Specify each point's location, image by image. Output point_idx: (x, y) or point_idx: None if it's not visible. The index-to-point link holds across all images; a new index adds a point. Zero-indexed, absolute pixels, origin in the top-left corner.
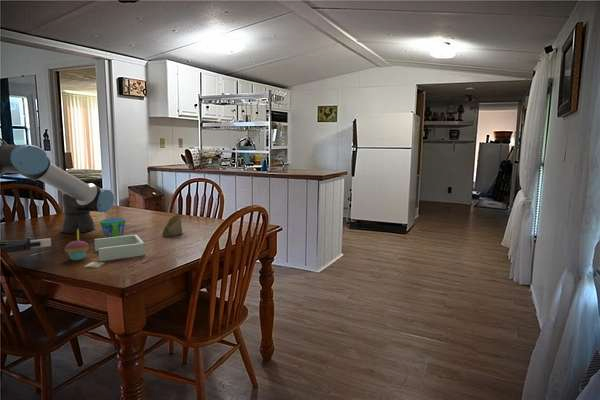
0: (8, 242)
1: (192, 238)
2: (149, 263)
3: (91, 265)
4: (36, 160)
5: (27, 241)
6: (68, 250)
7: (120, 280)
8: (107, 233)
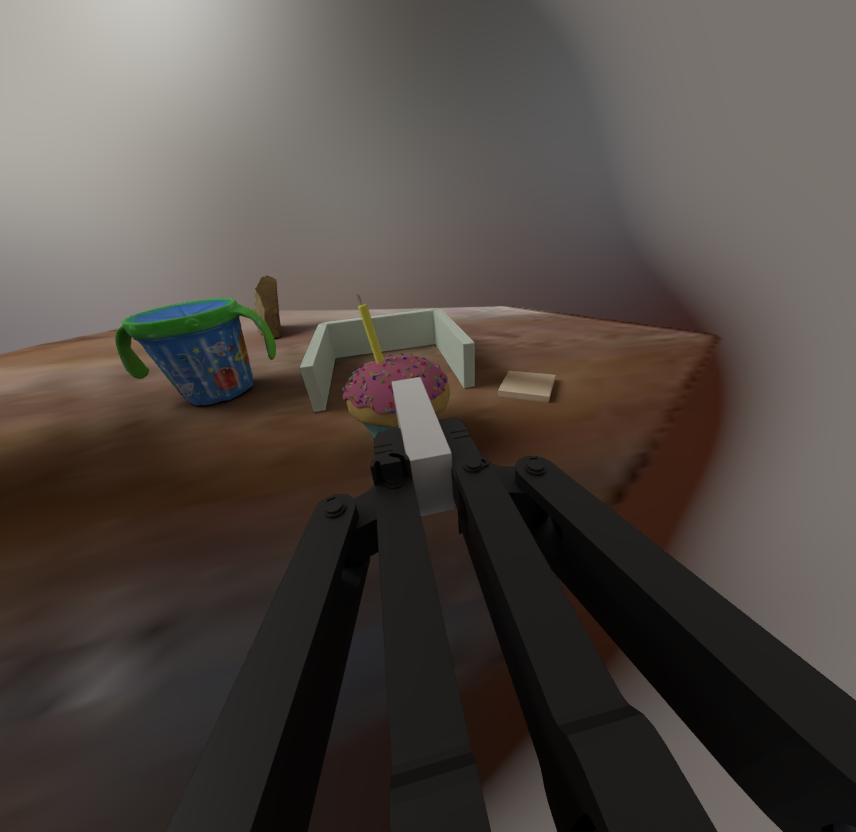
0: (426, 747)
1: (338, 316)
2: (518, 331)
3: (542, 385)
4: None
5: (412, 488)
6: (441, 402)
7: (660, 343)
8: (223, 361)
